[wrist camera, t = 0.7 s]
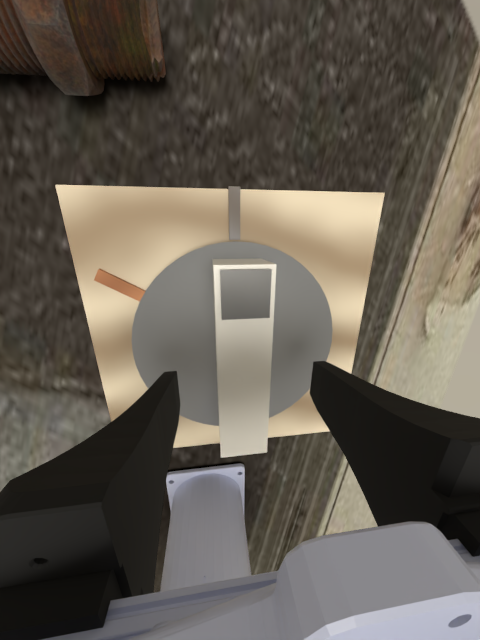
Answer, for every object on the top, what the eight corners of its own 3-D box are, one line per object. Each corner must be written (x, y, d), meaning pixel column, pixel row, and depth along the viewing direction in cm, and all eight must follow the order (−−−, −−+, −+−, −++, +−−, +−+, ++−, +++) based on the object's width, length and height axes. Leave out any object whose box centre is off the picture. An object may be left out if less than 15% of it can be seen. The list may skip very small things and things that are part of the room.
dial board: (330, 414, 24) (342, 431, 22) (126, 434, 21) (117, 456, 19) (365, 196, 17) (387, 190, 15) (74, 189, 15) (52, 181, 12)
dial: (315, 409, 20) (346, 458, 16) (150, 424, 18) (131, 484, 14) (337, 241, 15) (390, 241, 11) (119, 241, 14) (76, 242, 9)
